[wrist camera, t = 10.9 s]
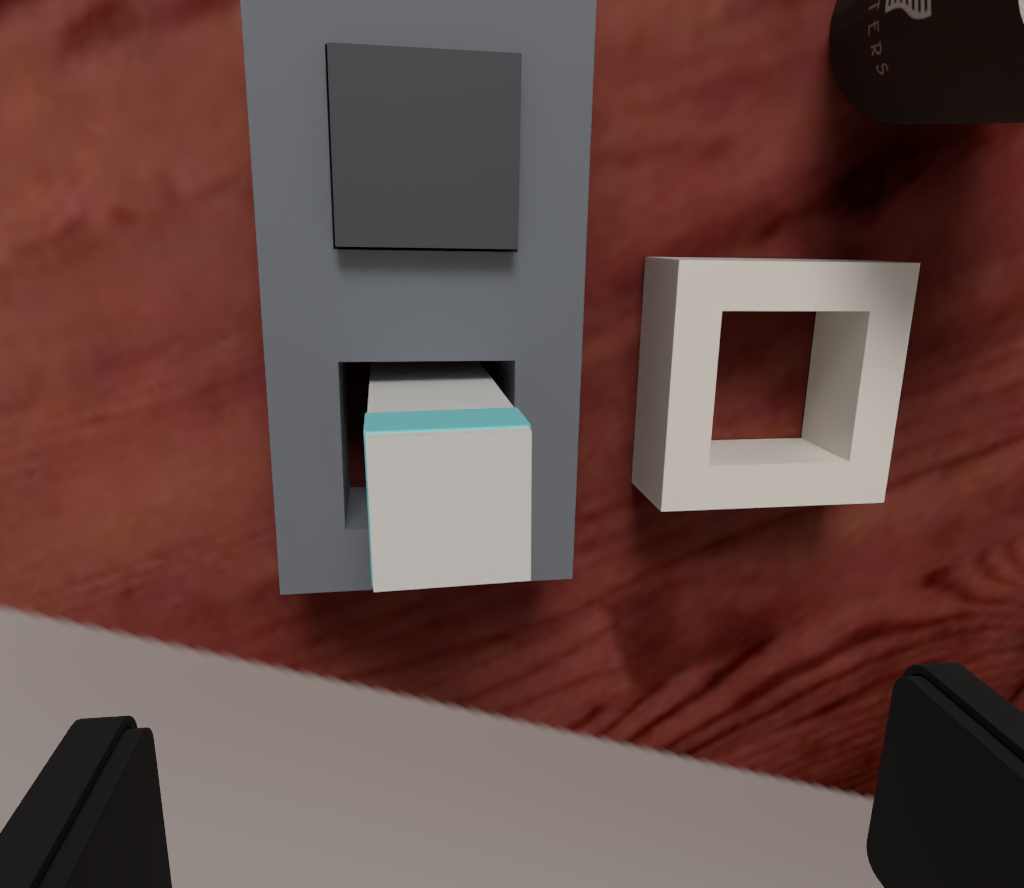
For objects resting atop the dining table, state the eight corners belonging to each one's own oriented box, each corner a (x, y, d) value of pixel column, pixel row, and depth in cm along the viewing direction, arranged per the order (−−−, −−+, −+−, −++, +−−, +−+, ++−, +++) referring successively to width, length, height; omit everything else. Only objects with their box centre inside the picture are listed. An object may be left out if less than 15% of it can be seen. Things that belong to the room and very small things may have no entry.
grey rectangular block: (562, 17, 27) (603, -32, 22) (546, 531, 32) (577, 587, 27) (261, -3, 25) (232, -61, 20) (294, 542, 30) (277, 604, 25)
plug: (478, 358, 29) (533, 428, 19) (480, 462, 30) (532, 582, 20) (369, 361, 29) (363, 435, 18) (374, 466, 30) (371, 594, 19)
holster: (862, 259, 31) (920, 263, 27) (833, 475, 33) (884, 502, 30) (645, 256, 29) (679, 259, 26) (631, 482, 32) (661, 511, 28)
